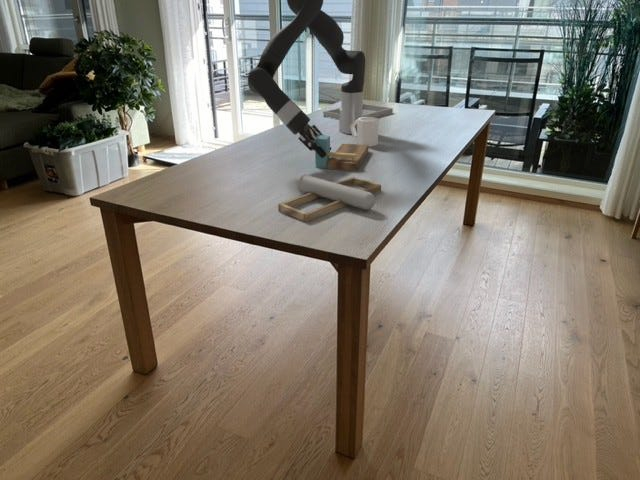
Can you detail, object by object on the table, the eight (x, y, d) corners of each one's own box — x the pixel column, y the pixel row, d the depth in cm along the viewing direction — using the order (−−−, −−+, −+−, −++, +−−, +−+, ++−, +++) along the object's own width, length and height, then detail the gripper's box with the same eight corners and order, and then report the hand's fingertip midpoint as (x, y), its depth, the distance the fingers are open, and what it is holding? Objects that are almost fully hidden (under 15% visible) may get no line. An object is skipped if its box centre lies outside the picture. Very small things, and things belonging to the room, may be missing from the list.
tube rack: (278, 210, 131) (278, 204, 130) (353, 182, 150) (353, 176, 149) (306, 222, 124) (306, 215, 123) (381, 191, 143) (381, 184, 142)
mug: (381, 142, 193) (382, 118, 188) (370, 147, 186) (371, 122, 182) (356, 138, 199) (356, 115, 194) (344, 143, 193) (345, 118, 188)
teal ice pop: (315, 167, 165) (315, 138, 160) (319, 163, 169) (318, 135, 165) (354, 169, 162) (354, 140, 157) (356, 165, 166) (357, 137, 162)
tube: (380, 193, 129) (310, 174, 143) (370, 192, 125) (299, 172, 139) (376, 212, 130) (306, 192, 144) (366, 212, 126) (295, 190, 140)
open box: (327, 168, 163) (327, 161, 162) (342, 150, 184) (342, 143, 183) (356, 170, 161) (356, 163, 160) (368, 151, 181) (368, 144, 180)
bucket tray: (323, 116, 239) (323, 111, 238) (361, 107, 257) (361, 103, 256) (355, 122, 225) (355, 117, 224) (392, 113, 244) (392, 108, 243)
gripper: (293, 114, 153) (329, 152, 156) (306, 105, 166) (339, 140, 168) (279, 129, 157) (314, 166, 160) (292, 120, 169) (325, 154, 172)
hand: (327, 153), depth 164 cm, fingers open, 6 cm apart
